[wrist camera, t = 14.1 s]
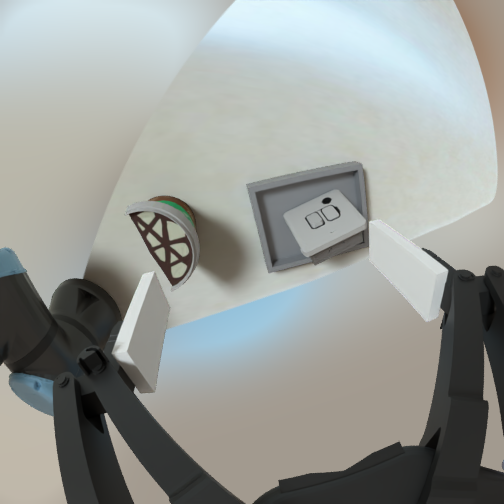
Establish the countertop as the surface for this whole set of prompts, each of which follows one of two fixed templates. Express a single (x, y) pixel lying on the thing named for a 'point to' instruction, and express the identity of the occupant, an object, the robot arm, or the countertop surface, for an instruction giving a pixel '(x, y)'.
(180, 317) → the countertop surface
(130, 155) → the countertop surface
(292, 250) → the back box
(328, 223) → the electrical switch
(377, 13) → the countertop surface
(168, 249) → the food container
